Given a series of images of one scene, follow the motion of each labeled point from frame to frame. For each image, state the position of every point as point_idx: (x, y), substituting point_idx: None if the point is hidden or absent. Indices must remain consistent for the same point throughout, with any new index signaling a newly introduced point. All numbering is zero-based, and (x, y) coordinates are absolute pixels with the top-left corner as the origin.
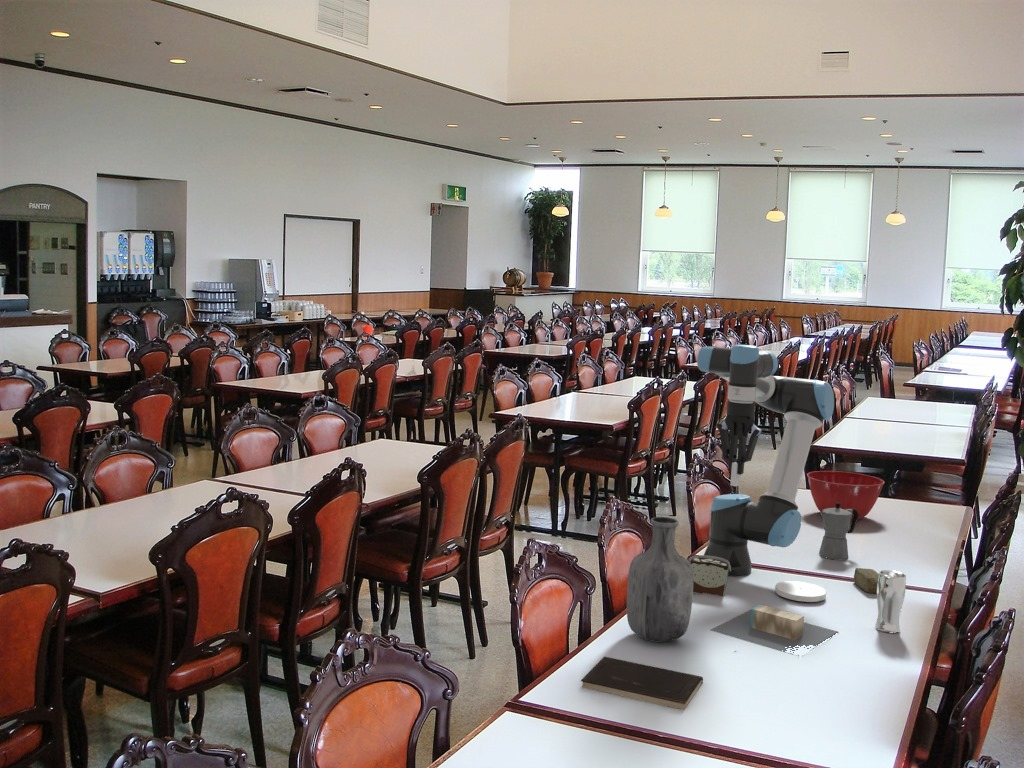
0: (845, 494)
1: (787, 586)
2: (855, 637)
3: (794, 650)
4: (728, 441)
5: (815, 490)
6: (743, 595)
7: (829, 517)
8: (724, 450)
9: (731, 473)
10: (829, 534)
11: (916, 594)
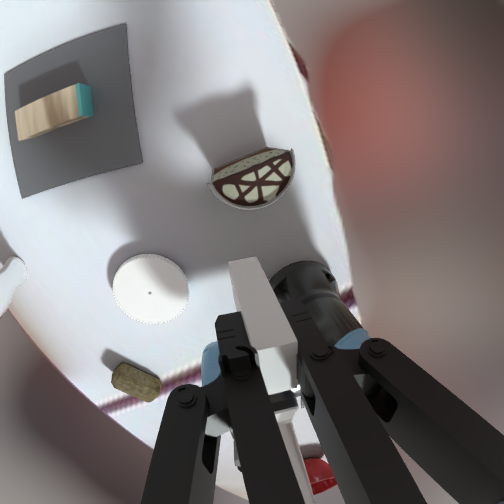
0: None
1: (167, 285)
2: (8, 207)
3: (14, 82)
4: (422, 462)
5: (326, 470)
6: (201, 212)
7: None
8: (408, 380)
9: (271, 291)
10: None
11: (102, 391)
